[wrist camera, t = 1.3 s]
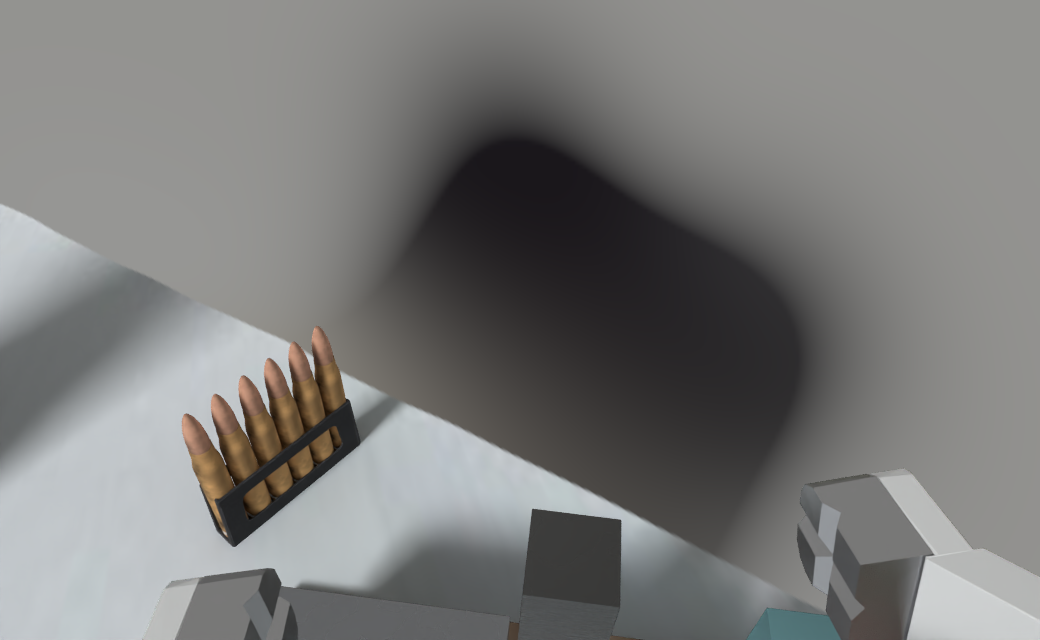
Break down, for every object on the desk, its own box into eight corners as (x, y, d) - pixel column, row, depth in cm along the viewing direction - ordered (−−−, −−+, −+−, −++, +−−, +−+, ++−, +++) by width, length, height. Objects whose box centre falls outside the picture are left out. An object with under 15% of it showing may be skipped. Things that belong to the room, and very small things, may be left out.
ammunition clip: (344, 429, 53) (319, 311, 44) (361, 443, 52) (339, 325, 43) (216, 530, 47) (159, 416, 38) (233, 548, 46) (179, 435, 37)
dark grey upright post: (260, 710, 33) (159, 550, 23) (284, 640, 36) (202, 465, 25) (672, 768, 32) (769, 630, 22) (669, 692, 35) (756, 533, 24)
